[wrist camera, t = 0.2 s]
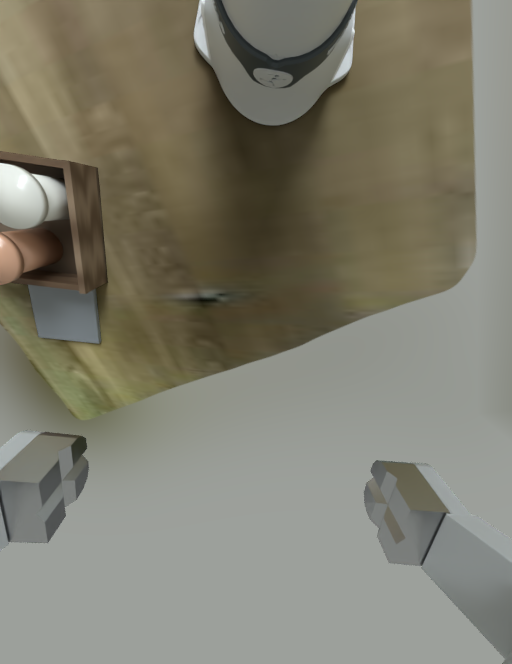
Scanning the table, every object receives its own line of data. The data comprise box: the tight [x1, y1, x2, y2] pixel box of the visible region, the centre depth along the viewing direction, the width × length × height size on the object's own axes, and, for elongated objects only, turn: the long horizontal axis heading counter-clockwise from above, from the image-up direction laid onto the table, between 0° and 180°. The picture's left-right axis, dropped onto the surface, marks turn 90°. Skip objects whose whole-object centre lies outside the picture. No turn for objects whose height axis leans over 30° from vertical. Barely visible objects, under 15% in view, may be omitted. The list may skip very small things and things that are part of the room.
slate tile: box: [28, 285, 101, 344], centre depth 46 cm, size 10×10×1 cm
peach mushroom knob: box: [0, 228, 63, 285], centre depth 37 cm, size 6×6×10 cm
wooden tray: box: [0, 151, 108, 294], centre depth 38 cm, size 16×16×7 cm
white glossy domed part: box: [0, 163, 70, 229], centre depth 35 cm, size 6×6×10 cm
